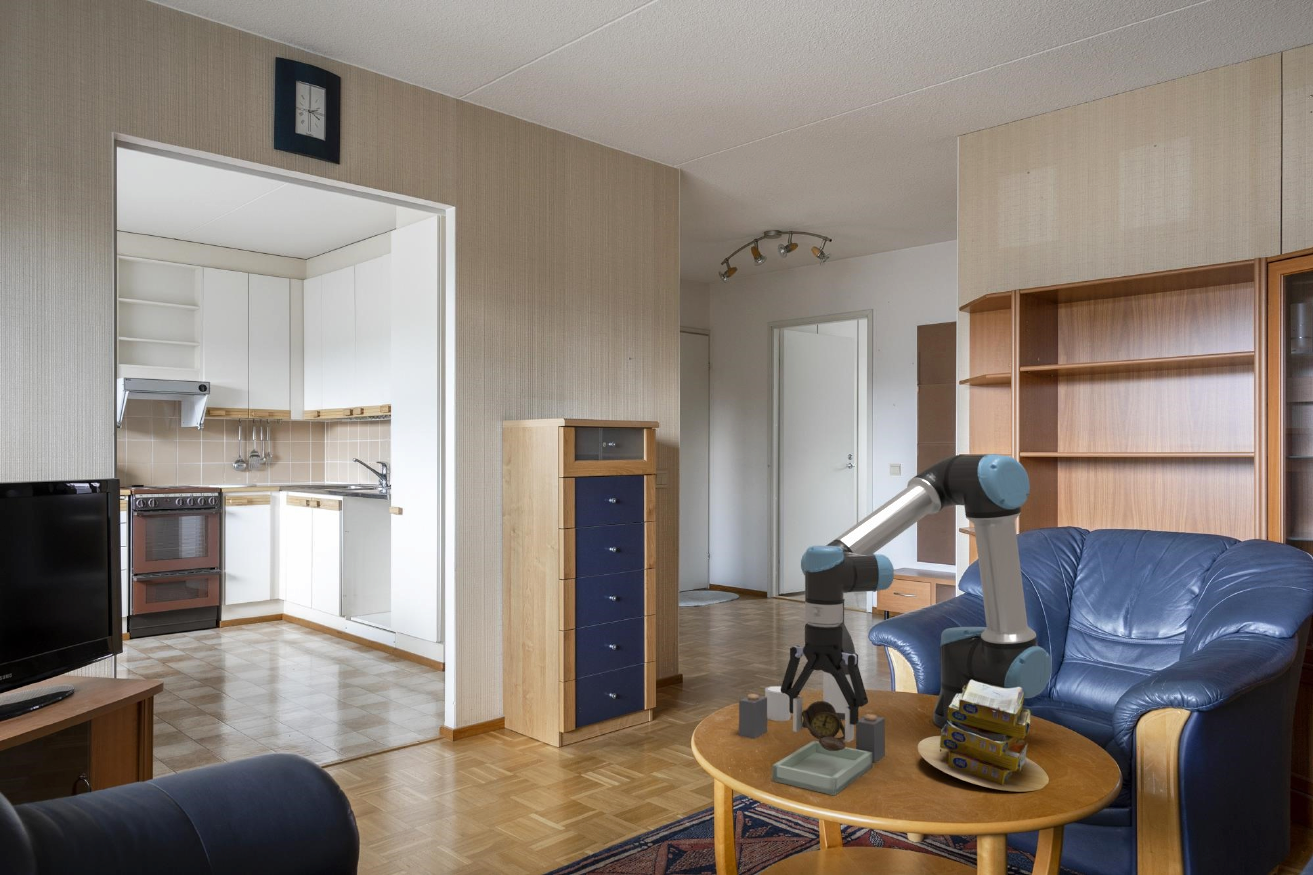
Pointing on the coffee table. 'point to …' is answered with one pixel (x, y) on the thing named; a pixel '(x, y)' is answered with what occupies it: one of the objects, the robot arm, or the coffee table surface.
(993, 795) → the coffee table surface
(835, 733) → the brown alarm clock
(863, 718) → the block
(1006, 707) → the plate of stacked boxes
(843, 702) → the wine bottle
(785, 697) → the light grey cylinder
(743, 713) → the far-side block
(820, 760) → the sage tray
